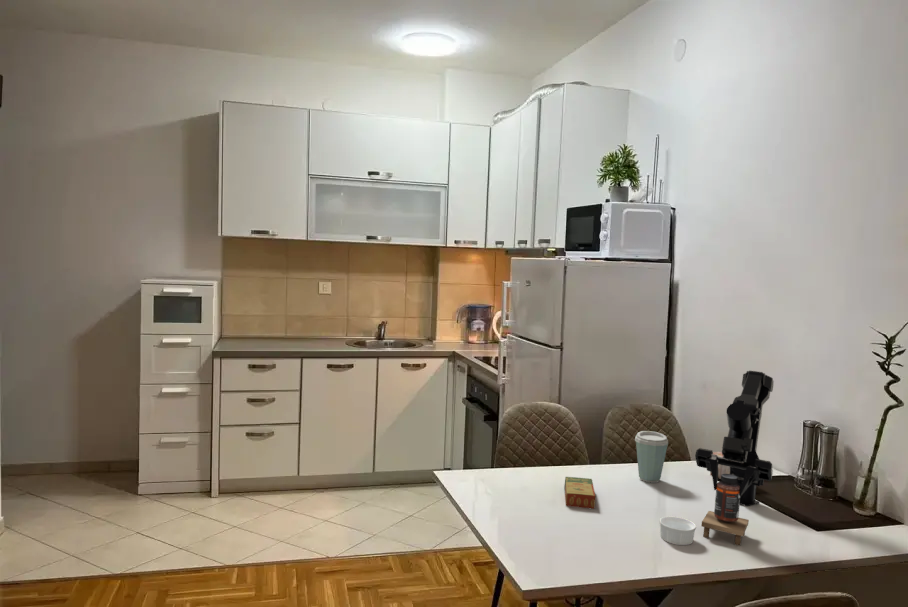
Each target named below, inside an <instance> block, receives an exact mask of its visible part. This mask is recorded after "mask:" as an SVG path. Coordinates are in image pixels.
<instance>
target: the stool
mask: <svg viewBox="0 0 908 607" xmlns="http://www.w3.org/2000/svg"><path fill="white" fill-rule="evenodd" d="M748 526H749V519H747V518H743V517H738V520H737V521H734V522H727V521H723V520H720V519H718V518H716V517H715V515H714V511H712V510H708V511H707V513H706V514H705V515H704V517H703V519H702V520H701V527H703V534H702V535H703V537H704V538H707V539H709V538H710V533H711V532H710V531H711V529H712V530H715V531H719V532H723V533H728V534H732V535H735V536H734V545H736V546H741V543H742V542H741V541H742V537H745V536H746V535H745V534H746V530H747V528H748Z"/></svg>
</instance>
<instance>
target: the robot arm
mask: <svg viewBox="0 0 908 607" xmlns="http://www.w3.org/2000/svg"><path fill="white" fill-rule="evenodd" d="M741 381H742V382H741V386H742V391H741V394H740V395H738V396H736V397H734V398H733V401H732V403H730V404H729V406H727V408H726V419H727V425H728V428H729V430H728V433H727V436H724V437H723V441H722V447H721V448H722V450H721V452H722V455H723V457H718V456H717V455H714V454H713V452H714V451H713V450H711V449H706V448H701V447H699V448H697V449H696V451H695V462H696V466H697V467H699V468H704V469H706V471H707V472H711V474H712V476H711V477H712V484H713V490H714V491H716V486H717V483H718V480H719V479H718V472H719V471H718V464H720V465H725V466H729V467H730V474H732V475H735V476H737V477H738V482H737V484H738V485H739V486H740V493H739V495H740V505H743V506H745V507H748V506H753V505H757V504H758V505H759V504H760V501H758V500H756V492H757V487H760V486H763V485H764V481H768V482H771V481H772V478H773V463H772V462H771V461H770V460H766V459H760V457H759V455H758V453H757V447H758V440H759V433H760V427H761V419H762V415H763V414H762V413H763V412H762V411H763V406H764V405H765V403H766V402H767V401H768V400H769V399H770V396H771V393H773V390H774V382H775V381H774V379H773V377H771V376H769V375H767V374H766V373H765V372H763V371H757V370H747V371H746V372H745V373H743V374H742V380H741Z"/></svg>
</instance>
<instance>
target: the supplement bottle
mask: <svg viewBox="0 0 908 607" xmlns="http://www.w3.org/2000/svg"><path fill="white" fill-rule="evenodd" d="M737 482H738V477H737V476H735V475H732V474H722V475H721V479H720V480H719V482H718V481H717V486H716V490H715V498H714V511H713V512H714V515H715V517H716V518H718V519H720V520H723V521H727V522H734V521H737V520H738V517H739V516H740V513H739V512H740V505H741V504H740V495H739V493H740V486H739V485H738V484H737ZM739 518H740V517H739Z"/></svg>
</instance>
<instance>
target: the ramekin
mask: <svg viewBox="0 0 908 607" xmlns="http://www.w3.org/2000/svg"><path fill="white" fill-rule="evenodd" d="M659 526H660V530H659V531H660V532H659V533H660V534H659V535H660V537H661V539H662V540H663V541H665V542H667V543H668V544H673V545H677V546H689V545H691V544H692V543H693V542H694V538H695V531H696V529H697V525H696V524H695V523H694V522H693V521H691V520H690V519H686V518H684V517H679V516H663V517H660V519H659Z"/></svg>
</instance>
